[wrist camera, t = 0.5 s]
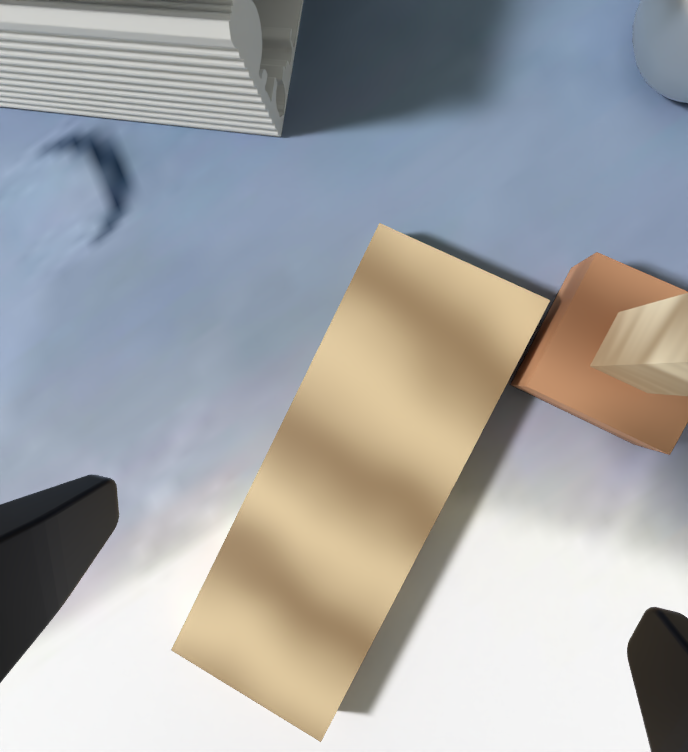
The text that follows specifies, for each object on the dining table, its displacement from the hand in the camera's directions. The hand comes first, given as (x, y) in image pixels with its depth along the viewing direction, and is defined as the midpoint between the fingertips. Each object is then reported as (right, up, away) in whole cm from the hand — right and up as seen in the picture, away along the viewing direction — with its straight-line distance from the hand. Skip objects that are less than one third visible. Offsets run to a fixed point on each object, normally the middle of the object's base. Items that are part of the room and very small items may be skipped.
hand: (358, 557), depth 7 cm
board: (0, -2, +14) cm, 14 cm away
